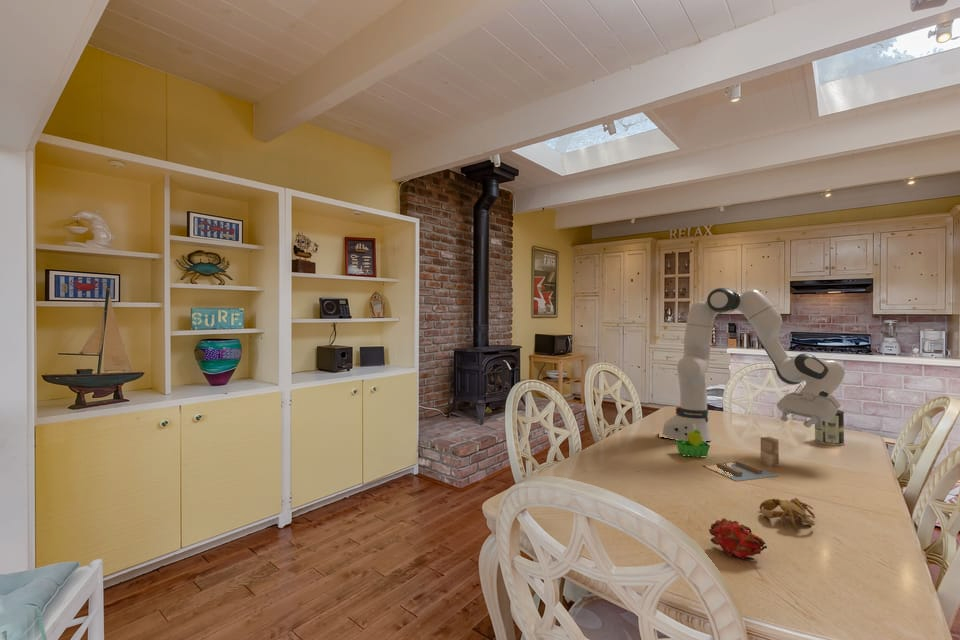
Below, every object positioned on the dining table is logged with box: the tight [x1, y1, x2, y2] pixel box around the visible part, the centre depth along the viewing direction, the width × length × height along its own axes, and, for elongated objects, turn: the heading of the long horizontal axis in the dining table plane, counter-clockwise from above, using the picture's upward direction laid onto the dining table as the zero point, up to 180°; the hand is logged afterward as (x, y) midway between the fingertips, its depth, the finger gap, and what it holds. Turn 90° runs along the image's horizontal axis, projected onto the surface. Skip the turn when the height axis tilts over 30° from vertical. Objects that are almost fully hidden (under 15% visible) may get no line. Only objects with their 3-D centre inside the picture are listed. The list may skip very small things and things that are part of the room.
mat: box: [715, 460, 779, 482], centre depth 157 cm, size 18×16×2 cm
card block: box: [760, 436, 780, 468], centre depth 163 cm, size 4×4×10 cm
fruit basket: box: [675, 430, 711, 457], centre depth 175 cm, size 11×9×11 cm
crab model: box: [759, 497, 816, 529], centre depth 119 cm, size 16×13×6 cm
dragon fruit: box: [708, 517, 768, 561], centre depth 102 cm, size 8×8×12 cm
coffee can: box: [814, 409, 845, 446], centre depth 190 cm, size 10×10×14 cm
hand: (794, 423), depth 166 cm, fingers open, 8 cm apart
